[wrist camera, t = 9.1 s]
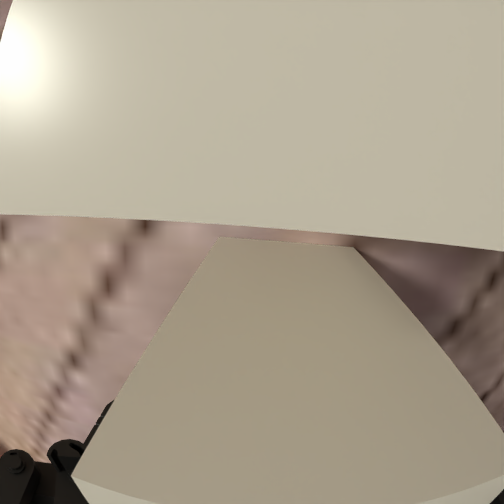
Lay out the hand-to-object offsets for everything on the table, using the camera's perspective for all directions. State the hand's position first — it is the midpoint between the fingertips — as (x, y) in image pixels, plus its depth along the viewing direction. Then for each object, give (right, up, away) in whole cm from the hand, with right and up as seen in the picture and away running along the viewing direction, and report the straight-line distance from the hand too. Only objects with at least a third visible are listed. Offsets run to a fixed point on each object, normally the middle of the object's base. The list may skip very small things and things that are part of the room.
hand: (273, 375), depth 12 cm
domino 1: (+1, +9, -2) cm, 9 cm away
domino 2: (0, +4, -1) cm, 5 cm away
